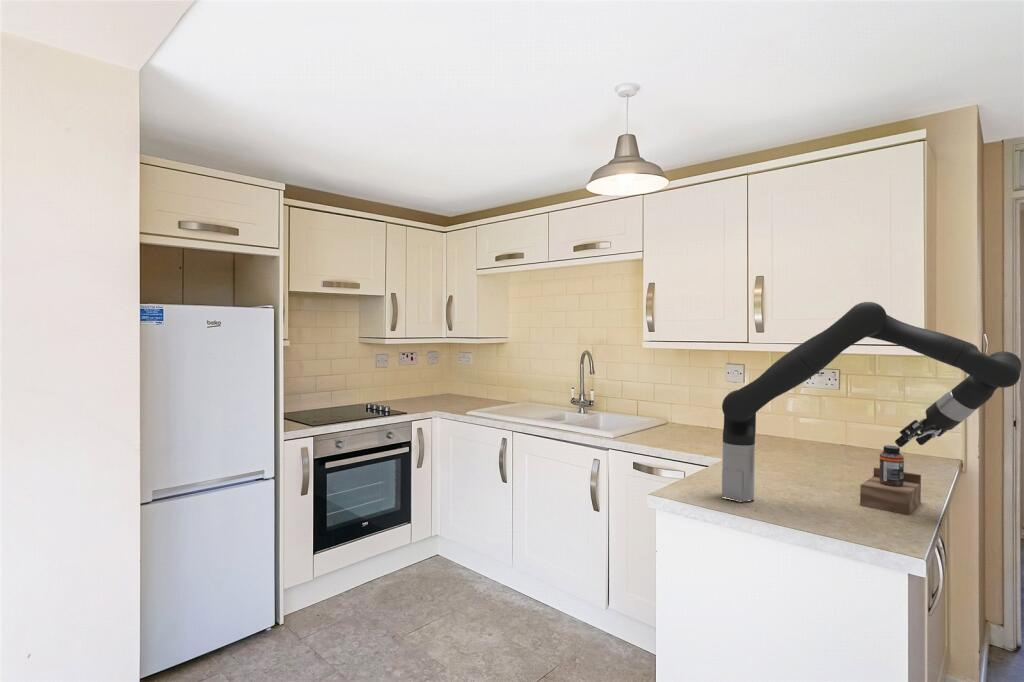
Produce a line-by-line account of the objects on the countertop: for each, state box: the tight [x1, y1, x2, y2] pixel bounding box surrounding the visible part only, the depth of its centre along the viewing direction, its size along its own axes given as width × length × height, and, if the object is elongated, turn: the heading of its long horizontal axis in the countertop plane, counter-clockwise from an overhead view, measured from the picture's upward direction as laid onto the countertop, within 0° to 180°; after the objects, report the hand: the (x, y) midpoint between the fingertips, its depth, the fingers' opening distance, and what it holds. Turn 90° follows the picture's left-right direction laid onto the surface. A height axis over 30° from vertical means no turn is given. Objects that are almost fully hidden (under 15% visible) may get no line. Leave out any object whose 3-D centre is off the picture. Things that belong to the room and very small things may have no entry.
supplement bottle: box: [879, 444, 905, 486], centre depth 165 cm, size 6×6×11 cm
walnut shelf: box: [859, 467, 922, 516], centre depth 165 cm, size 16×12×8 cm
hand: (908, 443), depth 161 cm, fingers open, 8 cm apart
